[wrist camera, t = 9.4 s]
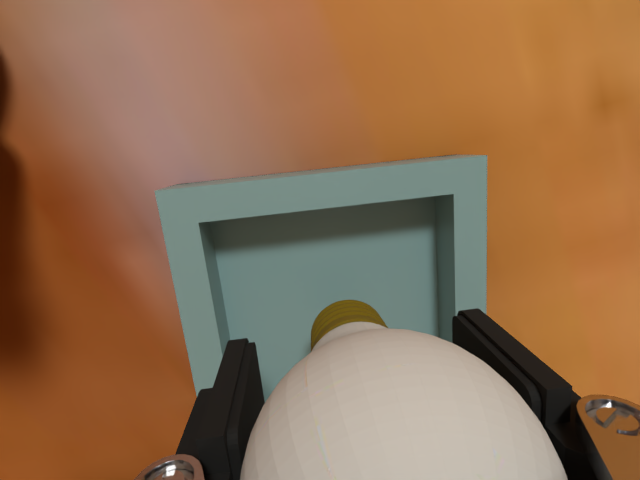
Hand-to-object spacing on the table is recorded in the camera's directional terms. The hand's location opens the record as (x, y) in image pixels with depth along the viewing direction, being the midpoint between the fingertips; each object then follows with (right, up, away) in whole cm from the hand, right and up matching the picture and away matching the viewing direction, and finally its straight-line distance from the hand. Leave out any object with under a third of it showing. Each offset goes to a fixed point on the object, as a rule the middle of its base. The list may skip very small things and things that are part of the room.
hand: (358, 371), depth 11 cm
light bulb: (0, +1, +3) cm, 3 cm away
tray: (-1, +1, +5) cm, 5 cm away
